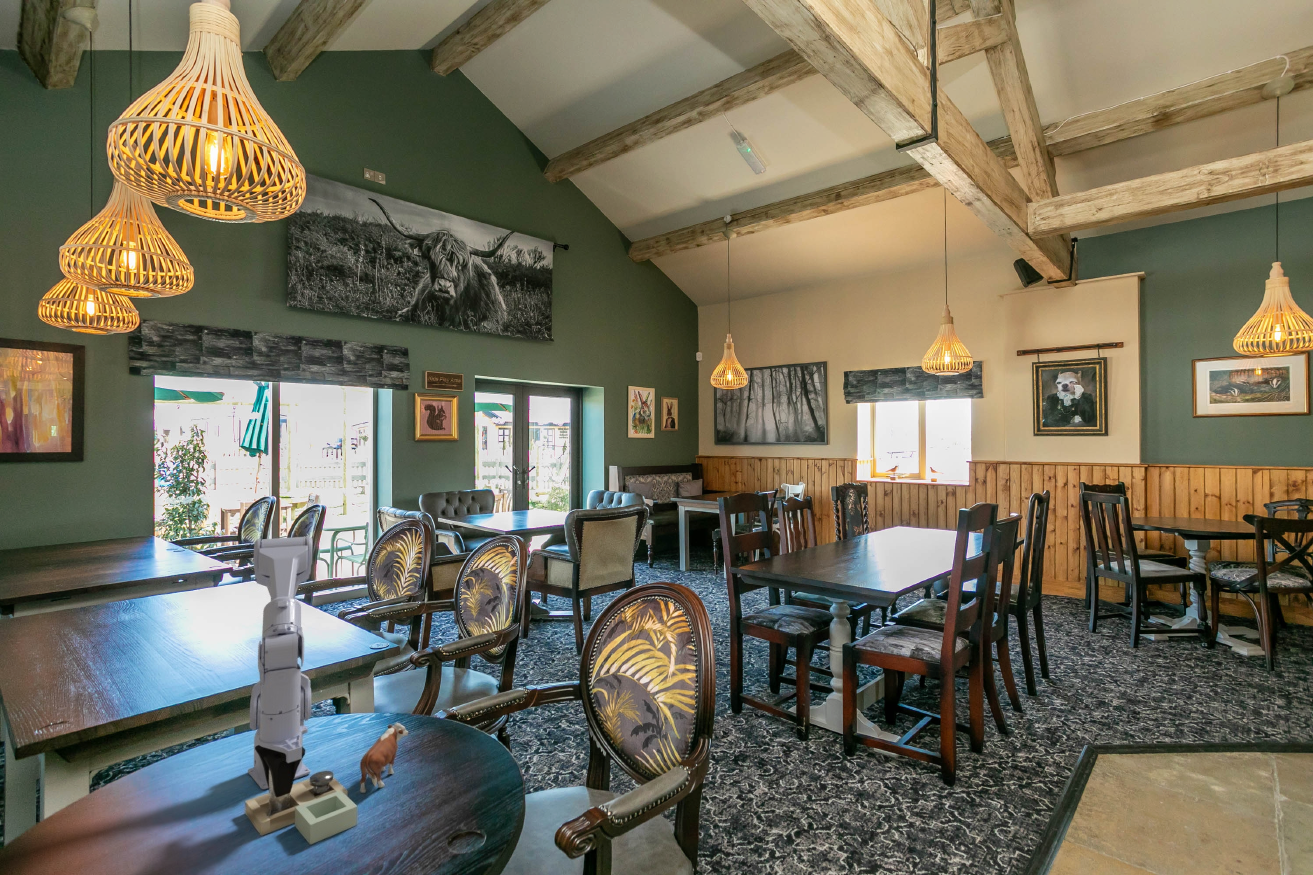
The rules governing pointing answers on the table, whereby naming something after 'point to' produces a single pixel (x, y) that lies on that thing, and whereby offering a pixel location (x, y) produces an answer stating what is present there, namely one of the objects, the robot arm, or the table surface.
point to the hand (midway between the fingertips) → (279, 790)
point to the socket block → (298, 796)
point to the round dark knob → (321, 782)
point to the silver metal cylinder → (277, 800)
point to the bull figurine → (381, 755)
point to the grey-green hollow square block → (325, 816)
